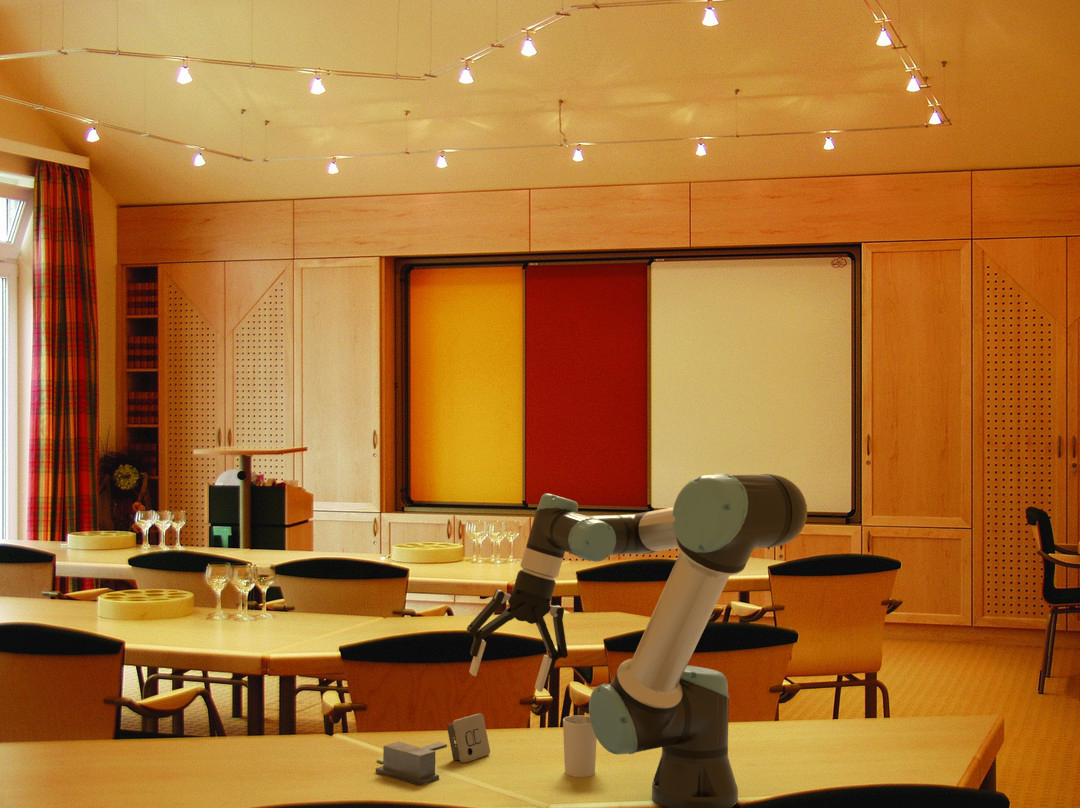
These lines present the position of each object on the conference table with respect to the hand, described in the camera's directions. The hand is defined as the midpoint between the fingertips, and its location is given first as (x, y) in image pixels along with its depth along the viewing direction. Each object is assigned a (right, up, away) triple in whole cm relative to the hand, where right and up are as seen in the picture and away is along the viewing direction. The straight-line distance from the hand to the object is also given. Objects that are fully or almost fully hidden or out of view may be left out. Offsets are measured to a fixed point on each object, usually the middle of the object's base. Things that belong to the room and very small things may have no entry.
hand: (505, 682), depth 205 cm
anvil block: (-18, -17, -1) cm, 25 cm away
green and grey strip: (-19, -18, +13) cm, 29 cm away
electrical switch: (-8, -18, +11) cm, 23 cm away
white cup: (+14, -18, +1) cm, 23 cm away
